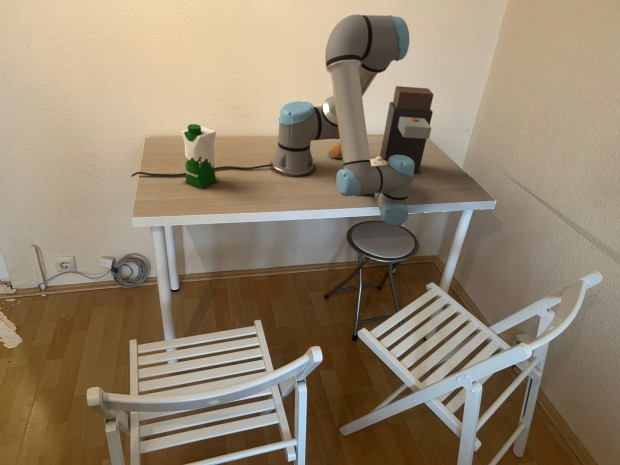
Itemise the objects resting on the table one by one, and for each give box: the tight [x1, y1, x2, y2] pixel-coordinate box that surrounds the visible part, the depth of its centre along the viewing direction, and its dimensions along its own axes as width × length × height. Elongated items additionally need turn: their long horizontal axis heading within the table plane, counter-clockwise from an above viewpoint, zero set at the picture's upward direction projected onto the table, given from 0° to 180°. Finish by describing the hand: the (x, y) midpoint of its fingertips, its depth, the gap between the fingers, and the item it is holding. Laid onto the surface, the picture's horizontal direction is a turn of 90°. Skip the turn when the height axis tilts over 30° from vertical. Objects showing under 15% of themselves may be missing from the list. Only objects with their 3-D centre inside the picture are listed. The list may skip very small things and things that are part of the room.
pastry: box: [330, 142, 342, 159], centre depth 187 cm, size 9×7×4 cm
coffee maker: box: [379, 85, 434, 174], centre depth 171 cm, size 18×14×30 cm
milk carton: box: [181, 123, 217, 189], centre depth 154 cm, size 9×9×20 cm
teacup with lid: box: [370, 155, 387, 166], centre depth 164 cm, size 12×9×12 cm
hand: (374, 162), depth 166 cm, fingers open, 13 cm apart
